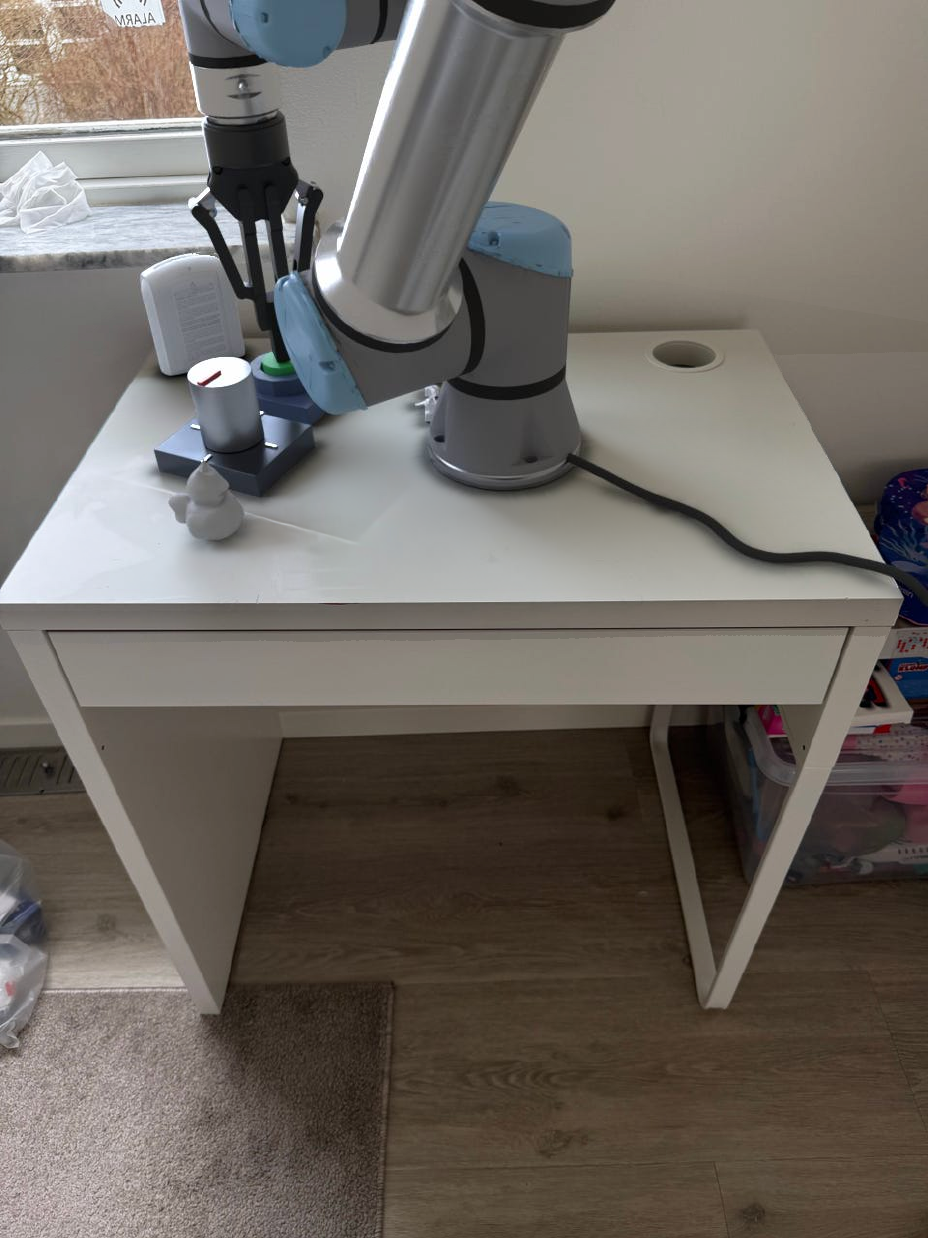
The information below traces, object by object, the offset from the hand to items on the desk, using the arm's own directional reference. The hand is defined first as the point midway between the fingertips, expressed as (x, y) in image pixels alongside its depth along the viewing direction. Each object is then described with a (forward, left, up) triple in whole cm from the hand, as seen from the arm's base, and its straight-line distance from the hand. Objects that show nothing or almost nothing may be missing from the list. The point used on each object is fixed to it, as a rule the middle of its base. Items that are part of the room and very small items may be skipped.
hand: (281, 355), depth 101 cm
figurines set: (-14, -6, -5) cm, 16 cm away
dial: (-2, +13, -2) cm, 13 cm away
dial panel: (-2, +13, -5) cm, 14 cm away
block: (0, 0, -5) cm, 5 cm away
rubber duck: (-7, +24, -5) cm, 25 cm away
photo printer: (+14, -3, -5) cm, 15 cm away
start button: (0, 0, -2) cm, 2 cm away
